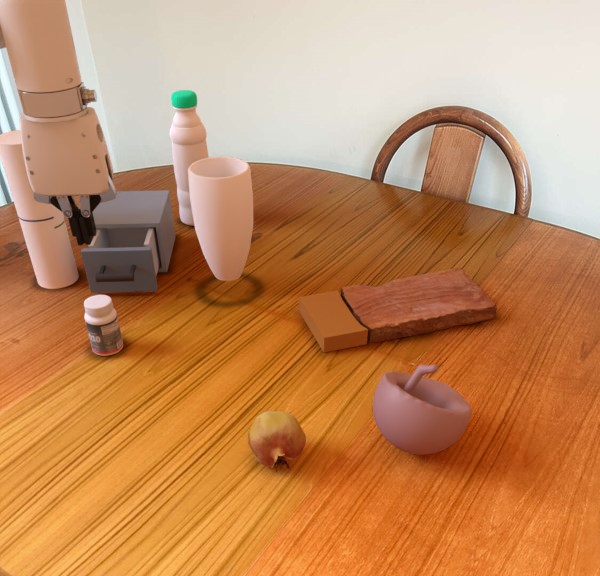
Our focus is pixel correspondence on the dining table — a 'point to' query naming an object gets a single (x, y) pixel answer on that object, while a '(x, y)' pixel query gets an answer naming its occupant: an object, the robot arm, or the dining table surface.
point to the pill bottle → (102, 325)
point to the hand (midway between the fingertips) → (86, 240)
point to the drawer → (122, 260)
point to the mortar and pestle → (419, 411)
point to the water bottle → (186, 146)
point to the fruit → (276, 439)
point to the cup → (222, 213)
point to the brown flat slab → (395, 309)
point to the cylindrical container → (38, 221)
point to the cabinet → (141, 217)
